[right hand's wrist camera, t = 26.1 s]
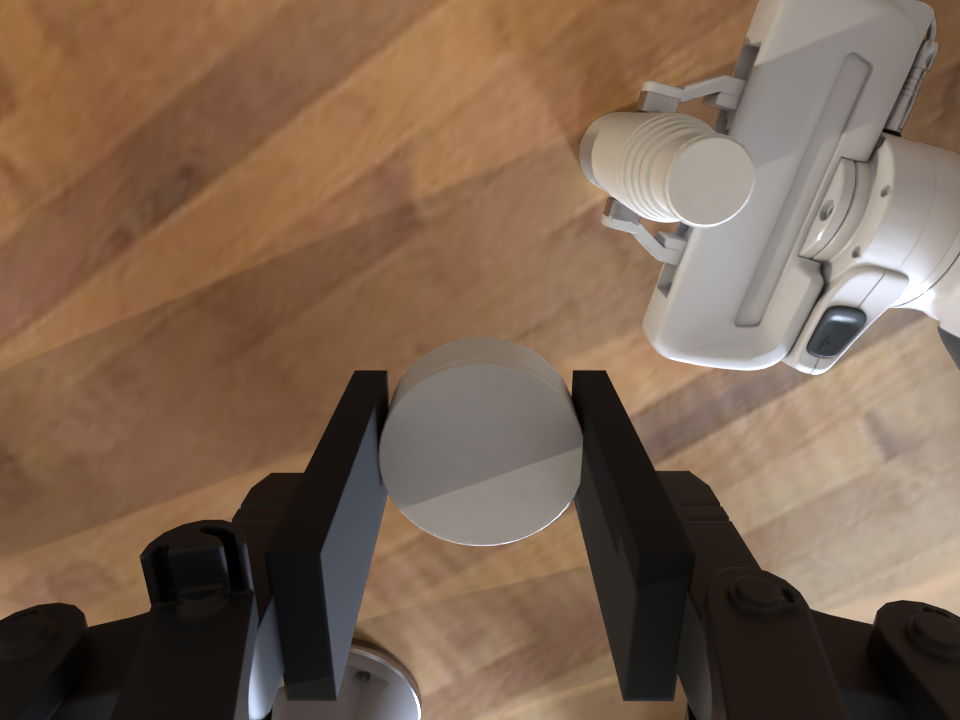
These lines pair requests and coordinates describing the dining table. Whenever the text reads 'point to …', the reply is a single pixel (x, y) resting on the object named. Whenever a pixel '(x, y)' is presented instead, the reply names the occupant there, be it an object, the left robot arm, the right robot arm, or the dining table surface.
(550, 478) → the cap
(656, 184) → the bottle
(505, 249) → the dining table surface
